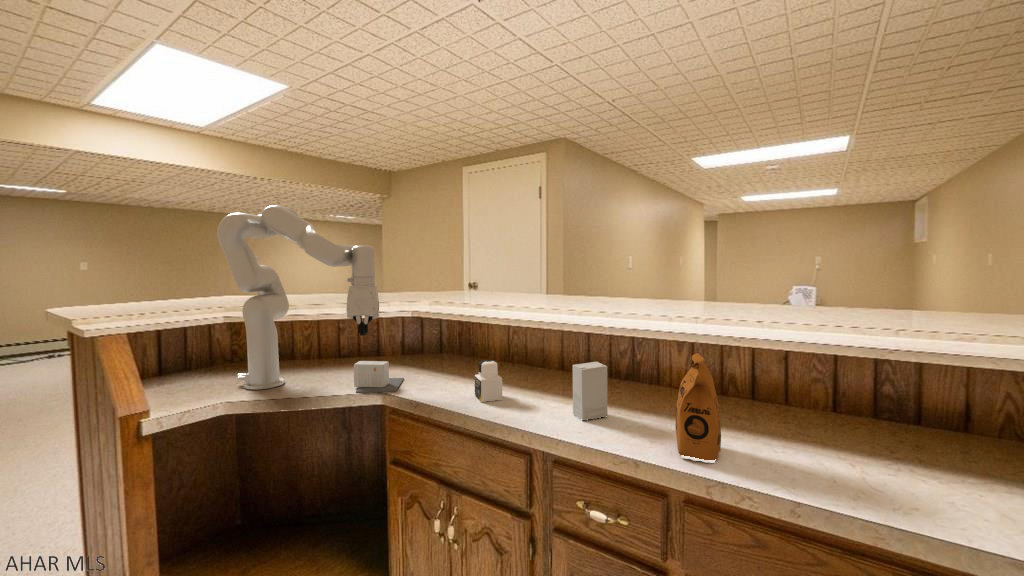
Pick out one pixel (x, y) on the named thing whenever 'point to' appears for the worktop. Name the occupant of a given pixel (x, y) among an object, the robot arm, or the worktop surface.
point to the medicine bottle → (488, 382)
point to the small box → (371, 374)
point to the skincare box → (590, 390)
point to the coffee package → (698, 414)
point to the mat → (390, 387)
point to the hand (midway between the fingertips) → (363, 334)
